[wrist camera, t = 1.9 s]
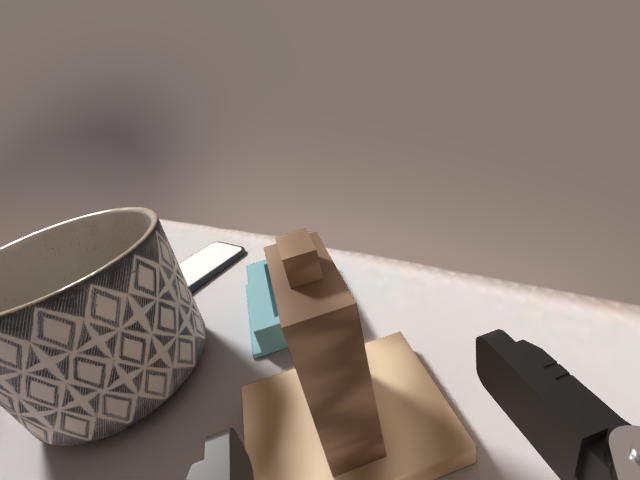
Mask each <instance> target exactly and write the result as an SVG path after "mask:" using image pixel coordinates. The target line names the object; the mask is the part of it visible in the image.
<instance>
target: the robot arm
mask: <svg viewBox="0 0 640 480" xmlns="http://www.w3.org/2000/svg"><path fill="white" fill-rule="evenodd" d="M476 369H477V374H478V376H479V379H480V381H481V383H482V384H483V386H484V387H485V389H486V390H487V391H488V392H489V394H490V395H491V396H492V397H493V398H494V400H495V401H496V402H497V403H498V404H499V406H500V407H501V408H502V409H503V411H504V412H505V413H506V414H507V415H508V417H509V418H510V419H511V420H512V421H513V423H514V424H515V425H516V426H517V427H518V429H519V430H520V431H521V432H522V434H523V435H524V436H525V437H526V438H527V440H528V441H529V442H530V443H531V444H532V446H533V447H534V448H535V449H536V450H537V452H538V453H539V454H540V455H541V457H542V458H543V459H544V460H545V461H546V463H547V464H548V465H549V466H550V467H551V469H552V470H553V471H554V472H555V473H556V475H557V476H558V477H559V478H560V480H640V427H639V426H633V425H631V424H629V423H628V422H626V421H625V420H624V419H622V418H621V417H620V416H619V415H618V414H616V413H615V412H614V411H613V410H612V409H611V408H609V407H608V406H607V405H606V404H605V403H604V402H603V401H601V400H600V399H599V398H598V397H597V396H596V395H594V394H593V393H592V392H591V391H590V390H589V389H588V388H586V387H585V386H584V385H583V384H582V383H581V382H580V381H578V380H577V379H576V378H575V377H574V376H573V375H572V376H571V375H570V374H569V372H568V371H567V370H566V369H565V368H563V367H562V366H561V365H560V364H559V365H558V364H557V362H556V361H555V360H554V359H553V358H552V357H551V356H550V355H548V354H547V353H546V352H545V351H544V350H543V349H541V348H539V347H537V346H535V345H533V344H531V343H529V342H527V341H525V340H520V341H518V342H515V341H514V340H513V339H512V338H511V337H510V336H509V335H508V334H507V333H505V332H504V331H503V330H500V329H498V330H495V331H492V332H490V333H487V334H484V335H482V336H479V337H477V338H476ZM186 480H254V475H253V469H252V465H251V461H250V458H249V456H248V454H247V452H246V450H245V448H244V447H243V445H242V443H241V441H240V439H239V437H238V436H237V434H236V432H235V430H234V429H233V428H230V429H227V430H224V431H221V432H219V433H216V434H213V435H211V436H208V437H207V438H206V441H205V452H204V460H202V461H199V462H197V463H194V464H192V466H191V468H190V470H189V473H188V475H187V477H186Z"/></svg>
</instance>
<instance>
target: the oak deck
mask: <svg viewBox="0 0 640 480" xmlns="http://www.w3.org/2000/svg"><path fill="white" fill-rule="evenodd" d="M365 349H366V354H367V360H368V365H369V370H370V375H371V380H372V385H373V390H374V395H375V400H376V405H377V410H378V415H379V420H380V425H381V430H382V435H383V440H384V445H385V450H386V455H387V457H384V458H382V459H379V460H377V461H374V462H372V463H369V464H366V465H364V466H361V467H359V468H356V469H354V470H351V471H348V472H346V473H343V474H341V475H338V476H336V477H333V476H332V473H331V470H330V467H329V465H328V462H327V459H326V456H325V453H324V450H323V447H322V444H321V441H320V438H319V436H318V433H317V430H316V427H315V424H314V421H313V418H312V415H311V412H310V410H309V407H308V404H307V401H306V398H305V395H304V392H303V389H302V386H301V383H300V381H299V378H298V375H297V372H296V369H295V368H293V369H291V370H288V371H285V372H282V373H279V374H276V375H273V376H270V377H268V378H265V379H262V380H259V381H256V382H253V383H250V384H247V385H244V386H242V404H243V423H244V441H245V450H246V452H247V454H248V456H249V458H250V461H251V465H252V469H253V475H254V480H434V479H436V478H439V477H441V476H444V475H446V474H449V473H451V472H454V471H456V470H459V469H461V468H464V467H466V466H469V465H471V464H474V463H476V462H477V446H476V444H475V443H474V441H473V440H472V438H471V437H470V435H469V434H468V432H467V431H466V429H465V428H464V426H463V425H462V423H461V422H460V420H459V419H458V417H457V416H456V414H455V413H454V411H453V410H452V408H451V407H450V405H449V404H448V402H447V401H446V399H445V398H444V396H443V395H442V393H441V392H440V390H439V389H438V387H437V386H436V384H435V383H434V381H433V380H432V378H431V377H430V375H429V374H428V372H427V371H426V369H425V368H424V366H423V365H422V363H421V362H420V360H419V359H418V357H417V356H416V354H415V353H414V351H413V350H412V348H411V347H410V345H409V344H408V342H407V341H406V339H405V338H404V336H403V335H402V333H401V332H397V333H395V334H392V335H389V336H386V337H383V338H380V339H377V340H374V341H371V342H369V343H366V344H365Z"/></svg>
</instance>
